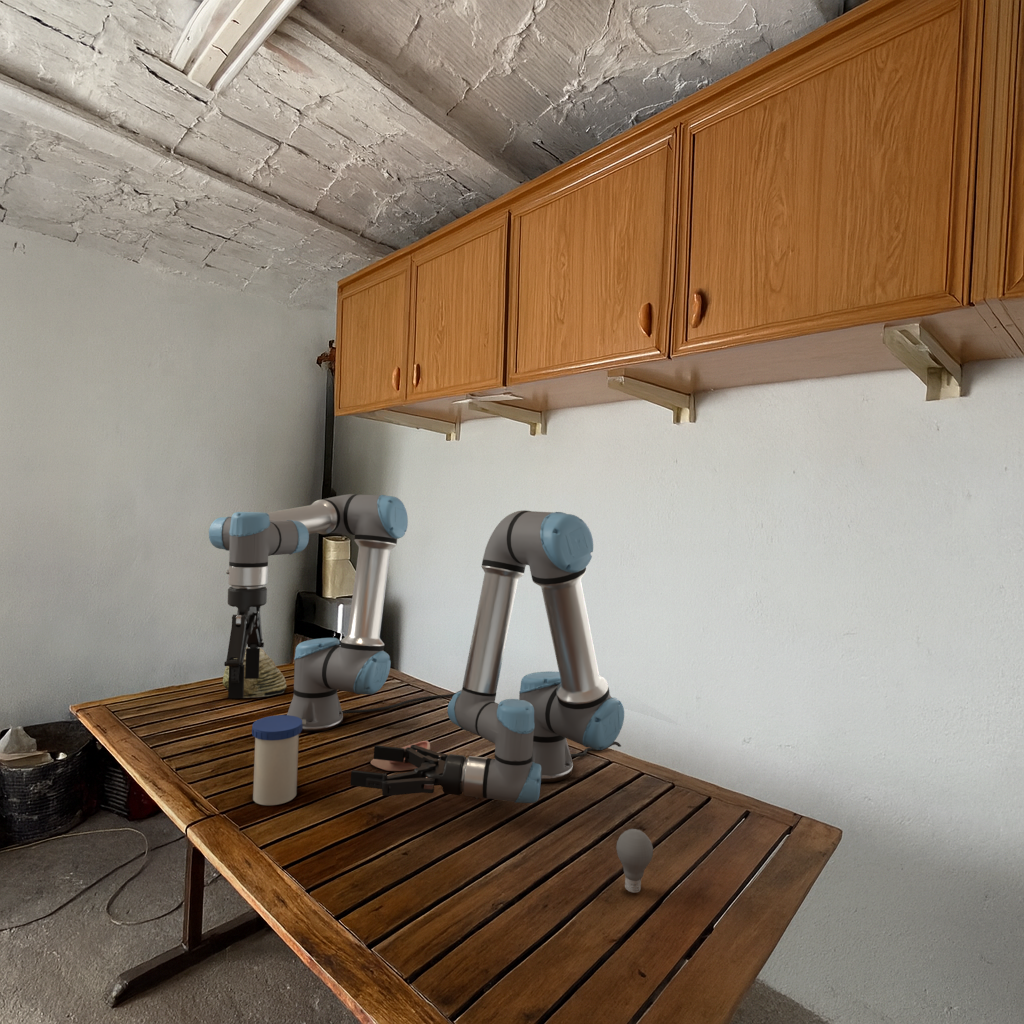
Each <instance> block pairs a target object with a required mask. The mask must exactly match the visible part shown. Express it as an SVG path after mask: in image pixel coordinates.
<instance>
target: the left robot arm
mask: <svg viewBox="0 0 1024 1024" xmlns="http://www.w3.org/2000/svg"><path fill="white" fill-rule="evenodd" d="M408 525H409V519H408V512H407V508H406V507H405V504H404V502H403V501H402V500H401V499H400V498H398V497H397V496H393V495H385V494H358V493H349V494H341V495H336V496H332V497H328V498H327V497H326V498H323V499H322V498H321V499H317V500H315V501H313V502H312V503H311V504H309V505H304V506H298V507H292V508H291V507H290V508H286V509H279V510H273V511H267V512H262V511H235V512H234V513H232V515H231V516H221V517H218V518H216V519H214V521H212V522H211V524H210V526H209V529H208V540H209V542H210V544H211V545H212V546H213V547H214V548H216V549H220V550H224V551H229V552H228V554H229V555H228V557H229V559H228V561H229V562H228V569H226V571H225V574H226V575H228V585H229V586H230V587H229V588H228V589H227V605H228V606H230V607H233V608H234V607H235V608H237V612H236V614H232V616H231V626H230V627H231V629H230V635H229V641H228V647H227V654H226V660H225V661H224V667H227V666H229V684H228V690H227V699H244V698H243V695H244V667H245V665H243V661H244V656H245V651H246V667H245V679H258V678H259V660H260V648H264V647H265V642H263V630H262V620H261V607H263V606H265V605H266V604H267V603H268V602H267V600H268V588H267V586H266V585H267V584H268V583H269V582H268V580H269V557H270V556H279V555H281V556H282V555H289V556H290V555H293V554H297V553H300V552H302V551H304V550H305V549H306V548H307V546H308V544H309V539H310V535H312V534H316V533H317V534H320V535H328V534H339V535H340V534H341V535H351V536H354V540H353V541H354V543H355V544H356V545H357V547H358V553H357V560H356V568H355V575H354V583H353V590H352V596H351V597H352V599H351V605H350V614H349V621H348V628H347V629H348V630H347V634H346V636H344V637H343V638H342V639H341V640H339V638H337V637H321V638H313V639H307V640H304V641H302V642H299V643H298V644H297V645H296V647H295V652H294V653H295V654H294V658H293V659H294V670H293V671H294V672H293V695H292V696H293V697H292V699H291V702H290V704H289V708H288V711H287V713H286V715H290V716H296V717H298V718H300V719H301V720H302V724H303V728H302V731H301V733H316V732H325V731H329V730H332V729H335V728H337V727H339V726H340V725H342V723H343V722H344V715H345V714H362V713H363V714H364V713H371V712H379V711H384V710H389V709H393V708H398V707H400V706H403V705H406V704H409V703H415V702H418V701H424V700H431V699H441V698H450V697H451V698H452V697H453V695H454V694H456V693H457V692H459V691H462V689H460V690H458V691H456V692H455V693H447V694H435V695H427V696H421V697H415V698H412V699H407V700H404V701H400V702H398V703H395V704H391V705H386V706H381V707H374V708H366V709H350V710H349V709H348V710H343V709H342V706H341V702H340V699H339V695H338V691H341V692H347V693H353V694H356V695H367V696H368V695H374V694H376V693H378V692H379V691H380V690H381V689H382V688H383V686H384V685H385V683H386V681H387V679H388V677H389V674H390V671H391V662H392V661H391V656H390V655H389V653H387V652H386V651H384V649H385V643H384V642H383V640H382V639H381V630H382V621H383V612H384V605H385V604H384V603H385V595H386V589H387V581H388V572H389V564H390V556H391V551H392V550H393V549H394V548H395V547H397V544H398V539H399V540H400V539H402V538H403V537H404V536H405V534H406V533H407V530H408ZM246 647H247V649H246ZM234 658H237V659H234Z"/></svg>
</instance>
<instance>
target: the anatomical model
mask: <svg viewBox="0 0 1024 1024" xmlns="http://www.w3.org/2000/svg"><path fill="white" fill-rule="evenodd" d="M411 745H417V746H420V747H423V748H426V749H429V750H431V743H430V742H429V741H428V740H423V741H417V742H415V743H412V744H408V745H405V746H403V747H402V748H407V747H411ZM416 751H417V750H416ZM370 764H371V765H372V766H373V767H375V768H378V769H380V770H383V771H387V772H400V771H401V772H402V771H413V770H415V769H416V768H418V767H416V766H414V765H413V764H411V763H409V762H408V763H406V762H405V758H404V761H403V762H397V761H388V760H379V759H374V758H373V759H371V761H370Z"/></svg>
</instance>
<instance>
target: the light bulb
mask: <svg viewBox="0 0 1024 1024" xmlns="http://www.w3.org/2000/svg"><path fill="white" fill-rule="evenodd" d="M615 849H616V854H617V857H618V859H619V861H620V863H621V865H622V867H623V873H624V874H623V875H624V876H625V878H624V888H625V890H627V891H628V892H630V893H634V894H635V893H639V892H640V891H641V889H642V887H641V886H642V879H643V877H644V875H645V871H646V868H647V867H648V866H649V864H650V863H651V861H652V859H653V855H654V847H653V843H652V841H651V838H649V836H648V835H647V834H646V833H645V832H643V831H642V830H641V829H636V828H629V829H627V830H625V831H623V832H622V833H621V834H620V835H619V837H618V839H617V841H616V847H615Z"/></svg>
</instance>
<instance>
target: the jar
mask: <svg viewBox="0 0 1024 1024" xmlns="http://www.w3.org/2000/svg"><path fill="white" fill-rule="evenodd" d="M299 745H300V734H298V735H296V736H294V737H291V738H287V739H282V740H261V739H258V738H255V737H254V756H253V758H254V759H253V779H252V780H253V781H252V800H253V802H254V803H255V804H258V805H261V806H278V805H282V804H285V803H288V802H290V801H292V800H293V799H295V798H296V796H297V794H298V774H299V773H298V770H299V769H298V768H299Z"/></svg>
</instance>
